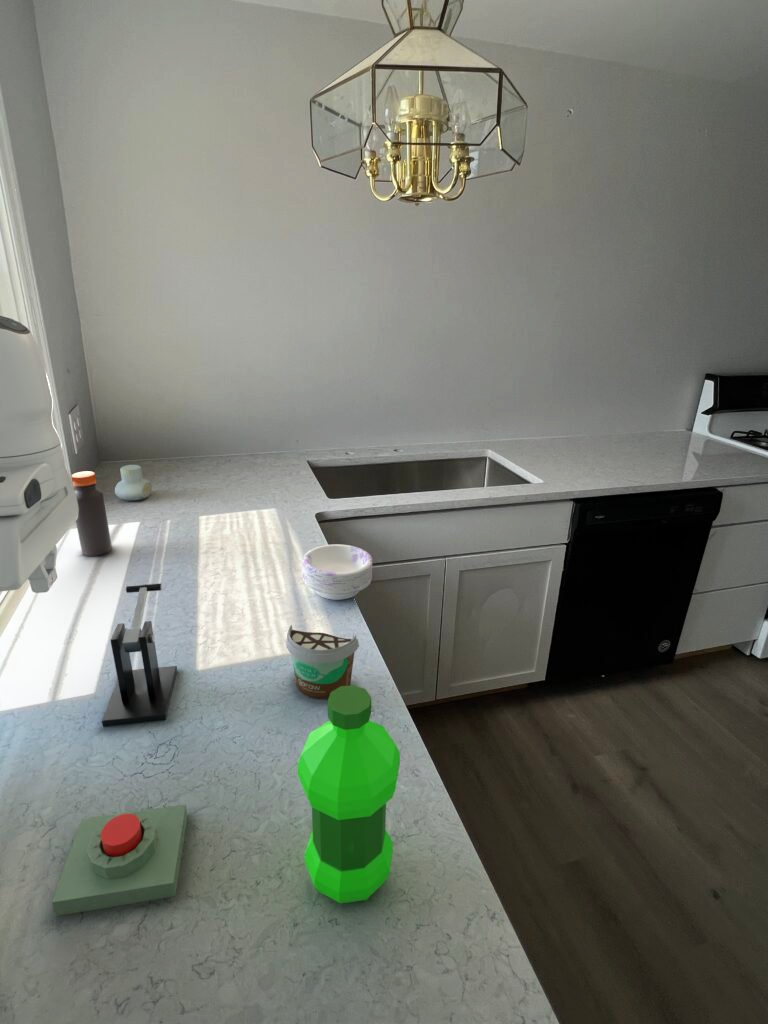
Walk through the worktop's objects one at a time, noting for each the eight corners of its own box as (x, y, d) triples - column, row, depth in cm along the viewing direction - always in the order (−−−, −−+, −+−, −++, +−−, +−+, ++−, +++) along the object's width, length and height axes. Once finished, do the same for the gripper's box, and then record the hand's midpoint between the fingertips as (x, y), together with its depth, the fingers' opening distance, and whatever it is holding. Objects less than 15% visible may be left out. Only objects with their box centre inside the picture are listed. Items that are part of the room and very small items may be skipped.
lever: (128, 591, 95) (126, 581, 93) (162, 589, 96) (160, 579, 94) (113, 653, 85) (110, 644, 83) (152, 650, 86) (149, 640, 84)
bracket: (122, 676, 94) (110, 611, 90) (177, 671, 96) (168, 607, 91) (102, 727, 84) (88, 656, 79) (165, 720, 85) (155, 650, 80)
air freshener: (130, 491, 179) (125, 461, 175) (155, 492, 178) (151, 462, 175) (113, 503, 168) (108, 472, 165) (140, 504, 168) (135, 473, 164)
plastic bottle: (292, 915, 59) (282, 731, 50) (318, 828, 69) (314, 660, 60) (385, 932, 58) (392, 747, 48) (399, 841, 67) (407, 671, 58)
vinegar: (75, 554, 136) (60, 476, 129) (96, 543, 142) (82, 468, 135) (98, 558, 135) (83, 480, 127) (118, 547, 141) (105, 471, 133)
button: (98, 859, 61) (96, 848, 60) (108, 827, 64) (106, 816, 64) (137, 853, 61) (135, 842, 61) (145, 822, 65) (143, 811, 64)
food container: (275, 696, 91) (272, 645, 87) (290, 673, 96) (288, 624, 93) (348, 710, 88) (348, 658, 84) (358, 685, 94) (359, 635, 90)
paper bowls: (385, 586, 125) (386, 554, 123) (343, 615, 114) (343, 581, 111) (332, 567, 133) (332, 537, 130) (288, 593, 122) (287, 560, 119)
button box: (55, 916, 58) (48, 890, 57) (84, 831, 68) (78, 807, 66) (175, 896, 61) (171, 871, 59) (187, 817, 70) (184, 793, 68)
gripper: (25, 448, 68) (48, 549, 73) (-66, 508, 50) (-27, 638, 55) (81, 446, 70) (99, 546, 75) (12, 505, 51) (43, 633, 56)
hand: (45, 586), depth 65 cm, fingers closed
